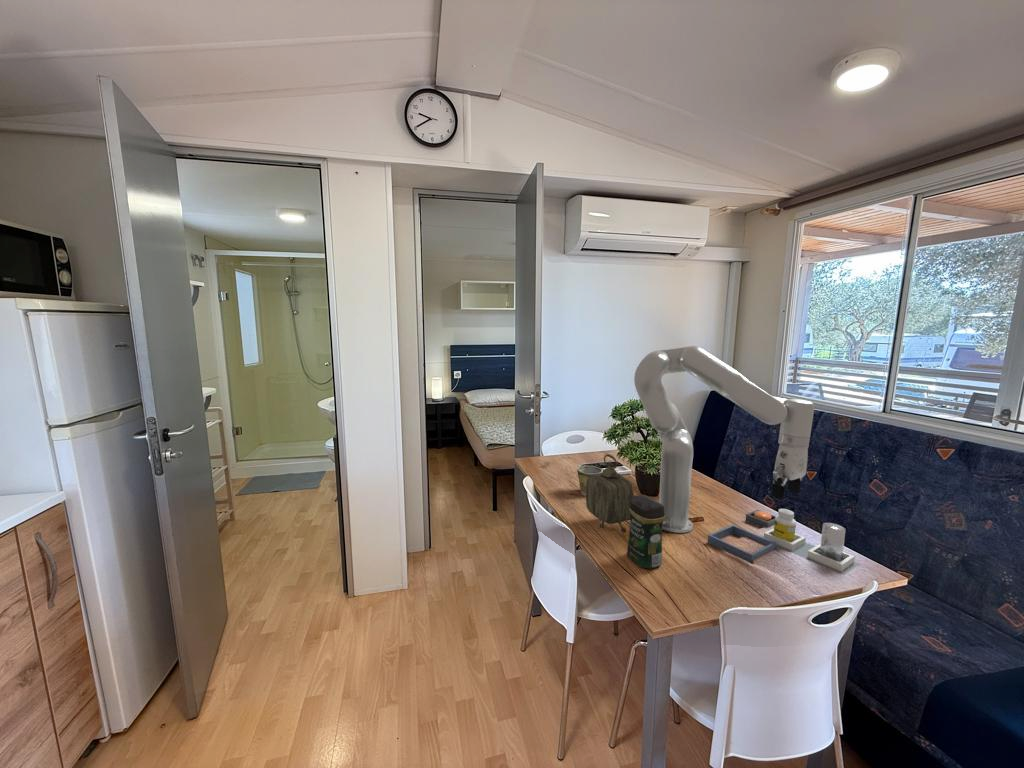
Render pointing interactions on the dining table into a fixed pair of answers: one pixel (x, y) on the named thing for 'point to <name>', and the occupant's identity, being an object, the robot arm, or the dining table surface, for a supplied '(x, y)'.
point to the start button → (762, 515)
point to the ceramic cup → (586, 476)
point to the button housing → (759, 520)
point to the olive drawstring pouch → (609, 496)
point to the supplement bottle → (785, 525)
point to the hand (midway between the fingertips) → (785, 494)
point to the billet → (832, 541)
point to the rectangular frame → (716, 541)
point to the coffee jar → (645, 531)
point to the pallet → (812, 552)
